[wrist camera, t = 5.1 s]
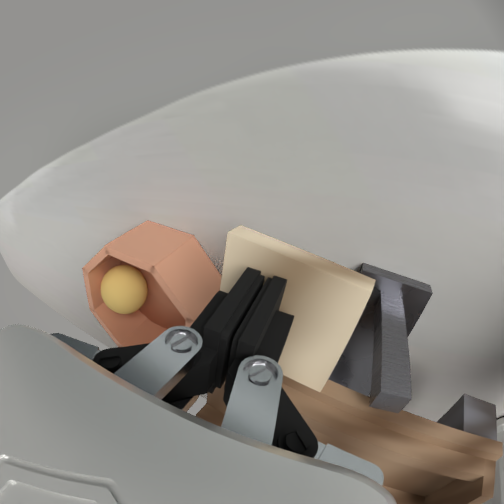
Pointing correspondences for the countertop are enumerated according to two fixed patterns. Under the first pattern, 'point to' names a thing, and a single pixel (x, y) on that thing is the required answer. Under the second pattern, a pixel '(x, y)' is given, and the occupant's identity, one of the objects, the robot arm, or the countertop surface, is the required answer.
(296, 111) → the countertop surface
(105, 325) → the salmon orange faceted bowl
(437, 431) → the wooden tray
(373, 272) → the stand
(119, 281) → the ball
